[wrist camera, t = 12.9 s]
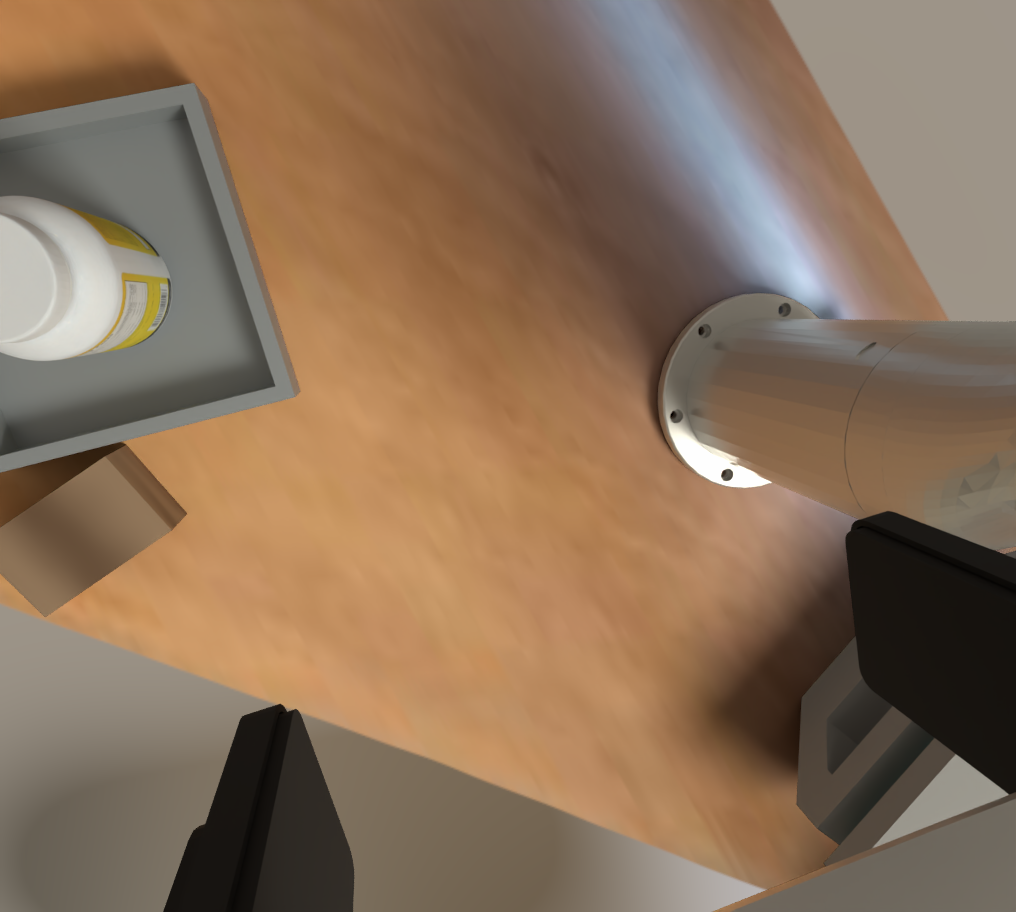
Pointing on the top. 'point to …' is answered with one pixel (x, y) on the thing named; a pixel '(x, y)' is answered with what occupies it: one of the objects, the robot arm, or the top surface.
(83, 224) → the pill bottle
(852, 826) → the sharpening stone
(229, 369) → the tray
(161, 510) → the walnut block
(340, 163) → the top surface
